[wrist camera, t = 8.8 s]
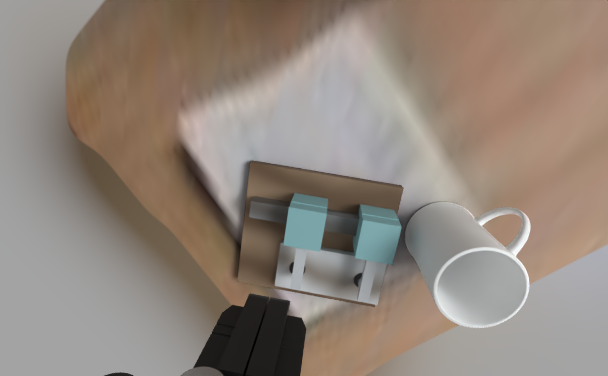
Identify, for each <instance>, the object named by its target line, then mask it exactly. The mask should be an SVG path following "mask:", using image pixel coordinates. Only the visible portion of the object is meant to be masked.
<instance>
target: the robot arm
mask: <svg viewBox="0 0 608 376" xmlns="http://www.w3.org/2000/svg"><path fill="white" fill-rule="evenodd" d="M289 305H290V301H288V300H282V299H277V298H272V297H271V298H270V301H269V297H266V296H260V295H255V294H249V296H248V298H247V301H246V303H245V305H244V307H240V306H235V305H232V306H231V307H229V308H228V309H227V310H225V311H224V312H223V313H222V314H221V316H220V318H219V320H218V322H217V324H216V326H215V327H214V329H213V332H212V334H211V335H210V337H209V339H208V341H207V343H206V345H205V347H204V348H203V350H202V352H201V354H200V356H199V358H198V360H197V362H196V364H195V366H194V368H193V369H190V370H188V371H186V372H185V373H183V374H182V375H181V376H300V372H301V365H302V357H303V349H304V341H305V334H306V327H305V325H304V322H303V320H302V318H299V317H294V316H288V312H289ZM105 376H133V375H131V374H128V373H112V374H108V375H105Z"/></svg>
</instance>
